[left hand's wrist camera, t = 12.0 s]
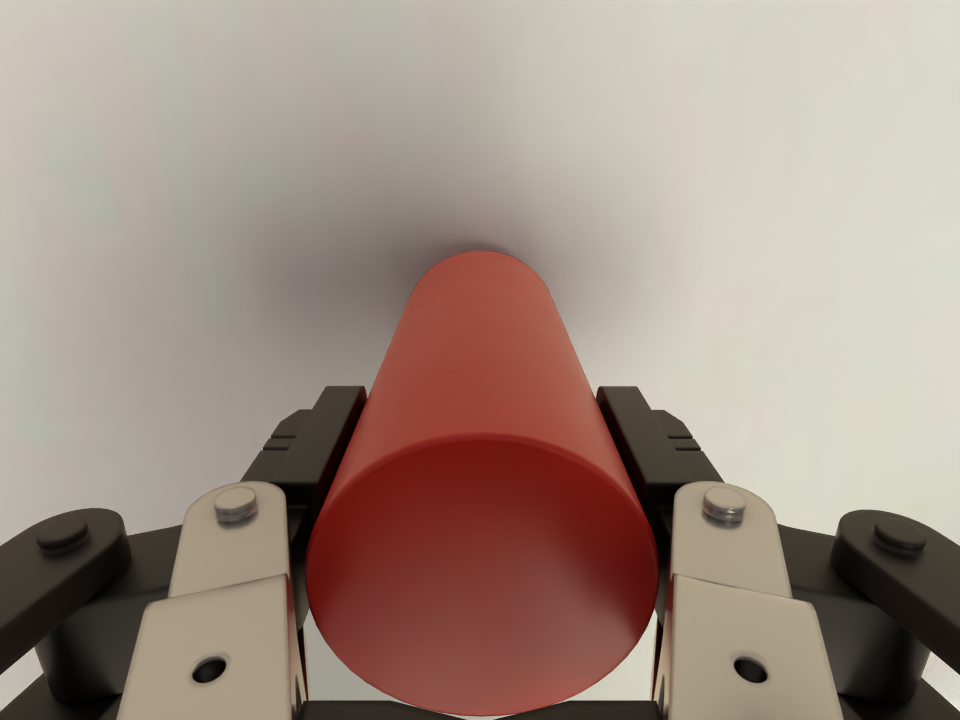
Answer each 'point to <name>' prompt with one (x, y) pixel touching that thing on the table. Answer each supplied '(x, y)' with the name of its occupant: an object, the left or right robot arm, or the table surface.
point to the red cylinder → (481, 509)
